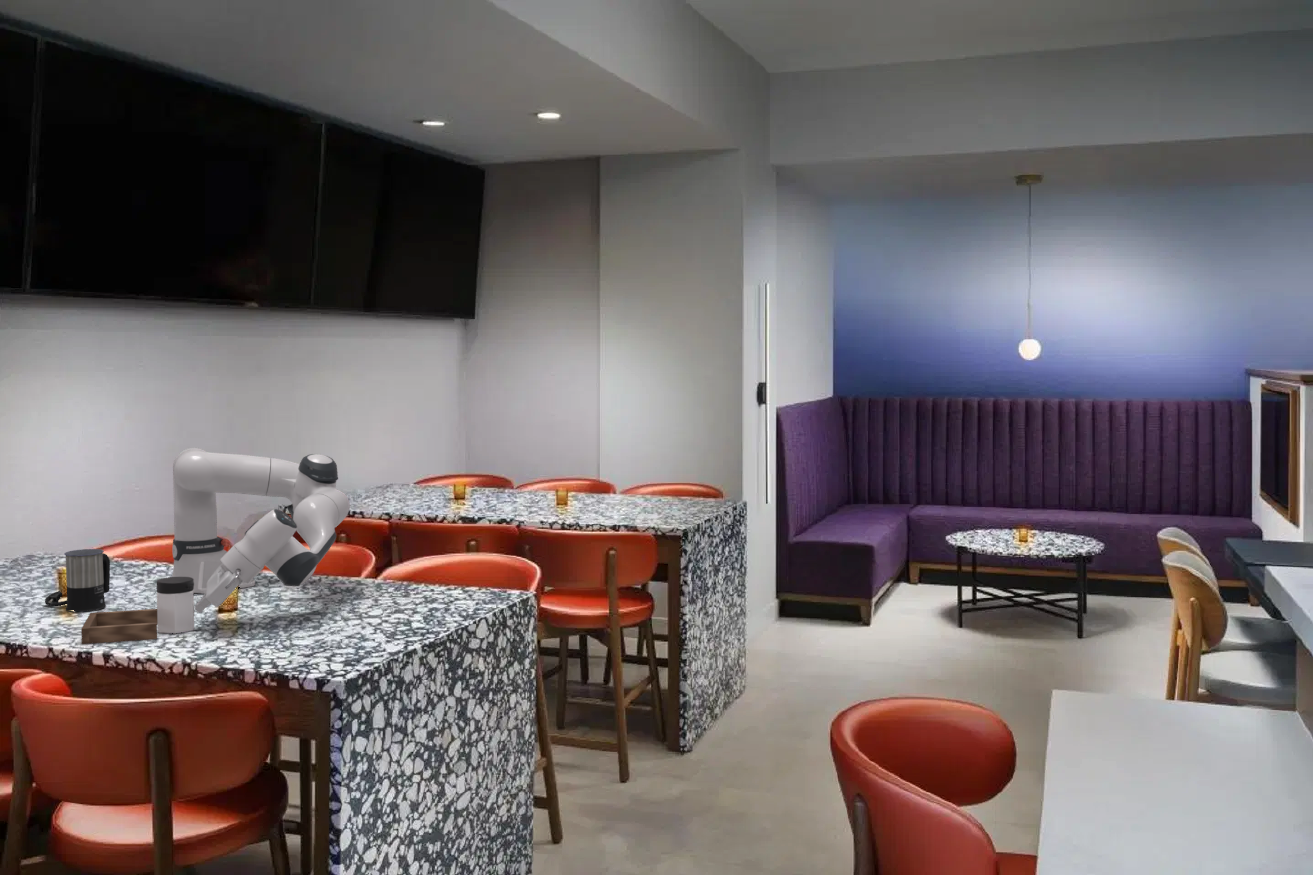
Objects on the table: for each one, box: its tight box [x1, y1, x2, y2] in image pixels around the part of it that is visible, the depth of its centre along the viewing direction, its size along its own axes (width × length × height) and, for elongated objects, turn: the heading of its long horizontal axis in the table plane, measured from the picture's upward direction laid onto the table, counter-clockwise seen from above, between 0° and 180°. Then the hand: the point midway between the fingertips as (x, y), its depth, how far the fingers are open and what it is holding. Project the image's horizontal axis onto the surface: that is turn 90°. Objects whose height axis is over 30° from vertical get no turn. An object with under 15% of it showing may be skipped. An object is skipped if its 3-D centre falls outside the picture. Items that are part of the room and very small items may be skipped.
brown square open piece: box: [80, 608, 158, 645], centre depth 268 cm, size 16×17×4 cm
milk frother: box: [44, 548, 111, 612], centre depth 294 cm, size 14×16×15 cm
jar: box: [156, 576, 195, 635], centre depth 271 cm, size 9×8×12 cm
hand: (197, 609), depth 272 cm, fingers closed
